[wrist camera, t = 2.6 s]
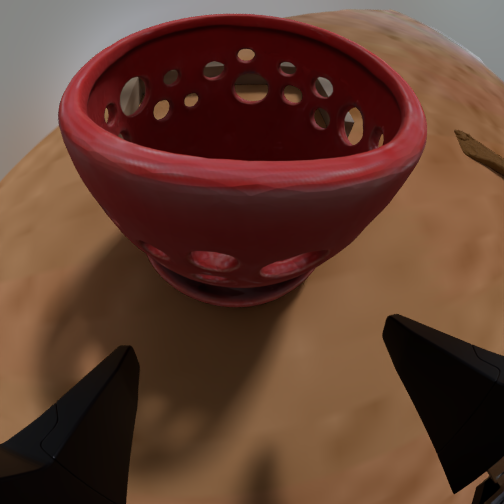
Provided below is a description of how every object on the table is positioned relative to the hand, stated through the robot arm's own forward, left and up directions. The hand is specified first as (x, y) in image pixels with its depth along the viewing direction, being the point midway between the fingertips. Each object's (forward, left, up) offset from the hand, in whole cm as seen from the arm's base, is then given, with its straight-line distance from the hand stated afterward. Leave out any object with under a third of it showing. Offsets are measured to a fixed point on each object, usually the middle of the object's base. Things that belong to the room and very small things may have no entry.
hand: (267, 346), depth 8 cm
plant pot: (+8, +4, -7) cm, 11 cm away
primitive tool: (+31, -28, -7) cm, 42 cm away
